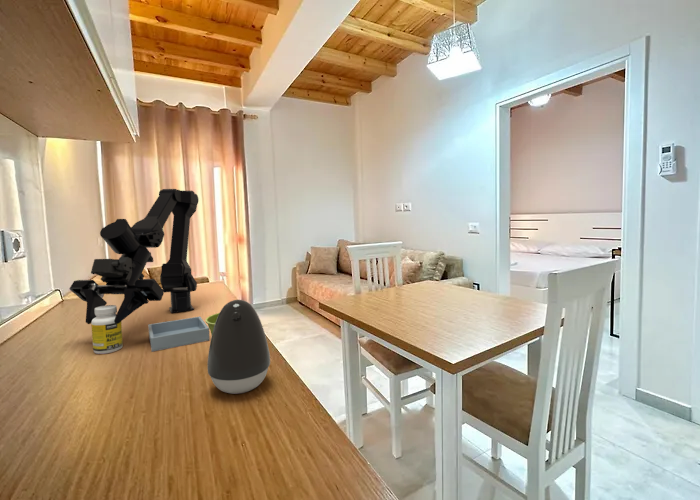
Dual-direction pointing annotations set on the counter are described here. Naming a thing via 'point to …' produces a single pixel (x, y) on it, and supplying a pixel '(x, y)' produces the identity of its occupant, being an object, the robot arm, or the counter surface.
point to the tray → (177, 333)
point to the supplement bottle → (106, 330)
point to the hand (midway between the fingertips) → (101, 323)
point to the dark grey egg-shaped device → (238, 349)
